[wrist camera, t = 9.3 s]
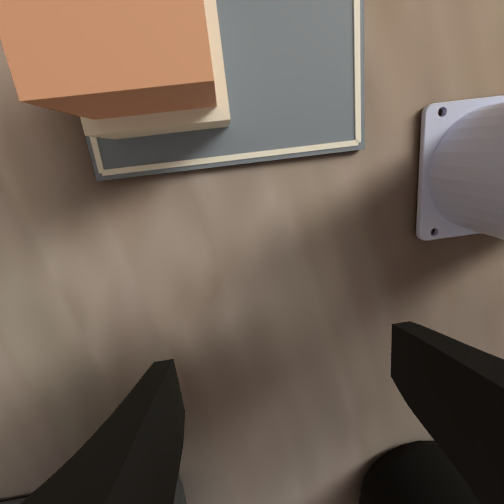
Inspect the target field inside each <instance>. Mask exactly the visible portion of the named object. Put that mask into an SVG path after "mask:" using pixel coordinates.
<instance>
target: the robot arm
mask: <svg viewBox="0 0 504 504" xmlns="http://www.w3.org/2000/svg"><path fill="white" fill-rule="evenodd" d="M440 108H441V109H442V115H441V116H439V115H438V110H439V109H440ZM432 229H435V231H434V233H433V234H431V230H432ZM479 233H483V234H486V235H489V236H492V237H496V238H499V239H502V240H504V95H502V96H493V97H485V98H476V99H467V100H458V101H450V102H441V103H433V104H429V105H427V106H426V107H424V109H423V111H422V117H421V138H420V159H419V181H418V202H417V224H416V236H417V237H418V238H419V239H421V240H423V241H428V240H435V239H442V238H449V237H457V236H464V235H471V234H479ZM391 377H392V379H393V381H394V382H395V384H396V386H397V388H398V390H399V391H400V393H401V395H402V396H403V398H404V400H405V401H406V403H407V405H408V406H409V407H410V409H411V410H412V411H413V413H414V414H415V415H416V417H417V418H418V419H419V421H420V422H421V423H422V425H423V426H424V427H425V429H426V430H427V431H428V433H429V434H430V435H431V436H432V438H433V439H434V440H435V442H436V443H437V444H438V446H439V447H440V448H441V450H442V451H443V452H444V453H445V455H446V456H447V457H448V459H449V460H450V461H451V463H452V464H453V465H454V467H455V468H456V469H457V471H458V472H459V473H460V475H461V476H462V477H463V479H464V480H465V482H466V483H467V484H468V486H469V487H470V489H471V490H472V492H473V493H474V495H475V497H476V498H477V500H478V501H479V503H480V504H504V359H501V358H498V357H496V356H493V355H491V354H488V353H486V352H483V351H481V350H478V349H476V348H474V347H471V346H469V345H466V344H464V343H462V342H459V341H457V340H455V339H452V338H450V337H448V336H445V335H443V334H441V333H438V332H436V331H434V330H431V329H429V328H426V327H424V326H421V325H419V324H416V323H413V322H410V321H409V322H403V323H397V324H392V348H391ZM184 419H185V410H184V405H183V400H182V396H181V391H180V387H179V382H178V378H177V373H176V369H175V364H174V359H171V360H164V361H158V362H154V363H153V364H152V365H151V367H150V368H149V369H148V370H147V371H146V373H145V374H144V375H143V376H142V378H141V379H140V380H139V382H138V383H137V384H136V385H135V387H134V388H133V389H132V390H131V392H130V393H129V394H128V395H127V397H126V398H125V399H124V400H123V401H122V403H121V404H120V405H119V406H118V408H117V409H116V410H115V411H114V412H113V414H112V415H111V416H110V417H109V418H108V419H107V420H106V421H105V422H104V424H103V425H102V426H101V427H100V428H99V429H98V430H97V431H96V432H95V434H94V435H93V436H92V437H91V438H90V439H89V440H88V441H87V442H86V443H85V444H84V445H83V446H82V447H81V448H80V449H79V450H78V451H77V452H76V453H75V454H74V455H73V456H72V457H71V458H70V459H69V460H68V461H67V462H66V463H65V464H64V465H63V466H62V467H61V468H60V469H59V470H58V471H57V472H56V473H55V474H54V475H52V476H51V477H50V478H49V479H48V480H47V481H46V482H45V483H43V484H42V485H41V486H40V487H39V488H38V489H36V490H35V491H34V492H33V493H32V494H31V495H30V496H28V497H27V498H26V499H25V500H24V501H23V502H21V503H20V504H174V497H175V491H176V485H177V479H178V473H179V467H180V461H181V455H182V448H183V439H184Z"/></svg>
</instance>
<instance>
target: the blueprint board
mask: <svg viewBox="0 0 504 504" xmlns="http://www.w3.org/2000/svg"><path fill="white" fill-rule="evenodd" d="M204 8H205V15H206V23H207V30H208V38H209V45H210V53H211V60H212V68H213V75H214V83H215V92H216V101H217V106H215V107H206V108H197V109H188V110H179V111H170V112H161V113H152V114H143V115H134V116H125V117H116V118H107V119H98V120H92V119H88V118H84V117H80V119H81V123H82V127H83V131H84V135H85V138H86V141H87V145H88V149H89V153H90V157H91V161H92V165H93V169H94V173H95V177H96V181H104V180H112V179H120V178H129V177H137V176H145V175H154V174H162V173H170V172H179V171H187V170H195V169H204V168H212V167H220V166H229V165H237V164H245V163H254V162H262V161H270V160H279V159H287V158H295V157H303V156H312V155H320V154H328V153H337V152H345V151H353V150H362V149H365V126H364V0H204Z"/></svg>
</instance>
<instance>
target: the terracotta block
mask: <svg viewBox="0 0 504 504" xmlns="http://www.w3.org/2000/svg"><path fill="white" fill-rule="evenodd" d="M0 38H1V42H2V45H3V48H4V51H5V55H6V58H7V61H8V65H9V68H10V71H11V74H12V78H13V81H14V84H15V87H16V91H17V94H18V97H19V100H20V101H21V102H25V103H29V104H33V105H36V106H40V107H44V108H48V109H52V110H56V111H60V112H64V113H68V114H72V115H76V116H80V117H84V118H88V119H92V120H98V119H107V118H116V117H125V116H134V115H143V114H152V113H161V112H170V111H179V110H188V109H197V108H206V107H215V106H217V101H216V92H215V83H214V75H213V68H212V60H211V53H210V45H209V38H208V30H207V23H206V15H205V8H204V0H0Z"/></svg>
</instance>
